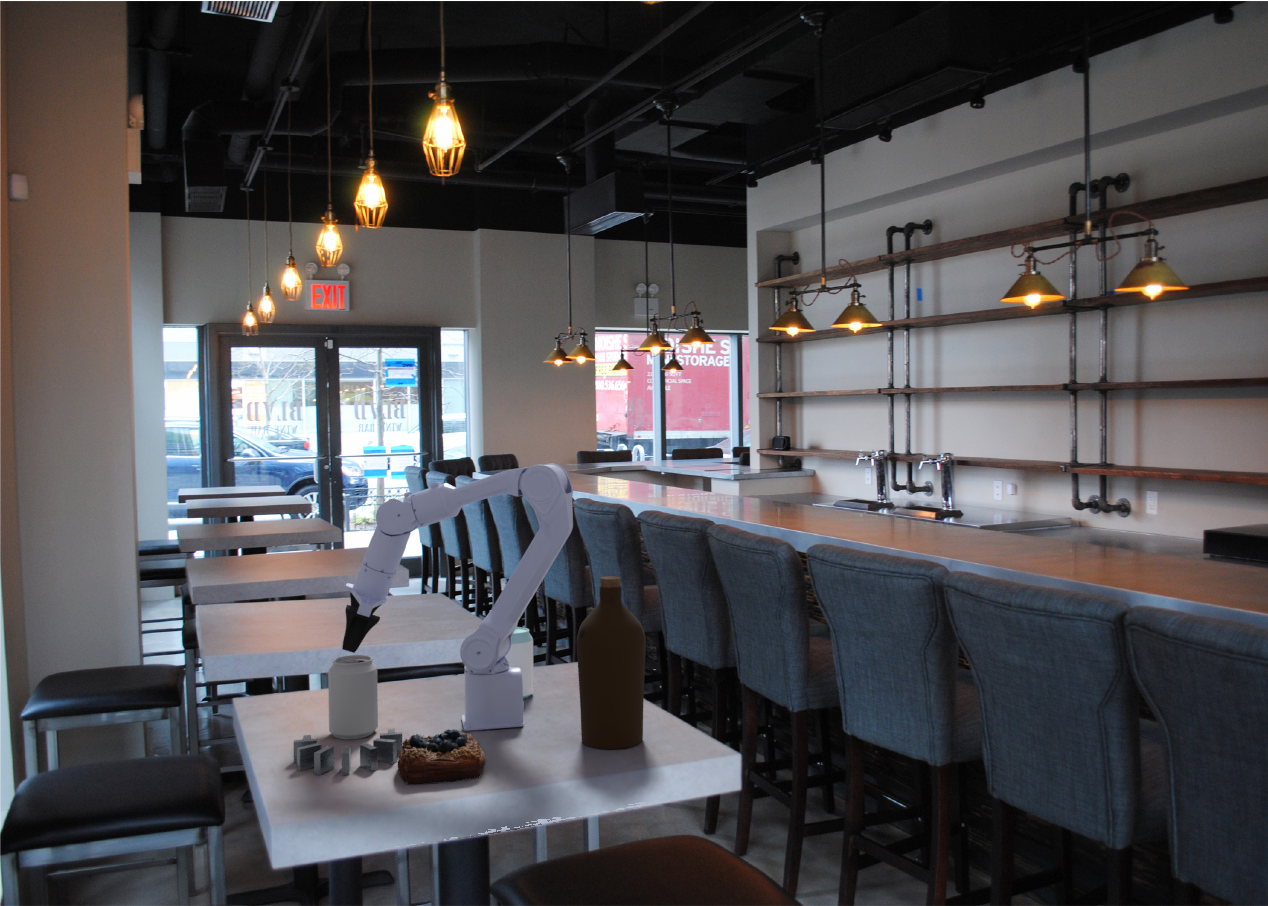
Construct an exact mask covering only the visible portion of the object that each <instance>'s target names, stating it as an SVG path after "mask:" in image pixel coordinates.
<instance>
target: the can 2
mask: <svg viewBox="0 0 1268 906" xmlns="http://www.w3.org/2000/svg"><path fill="white" fill-rule="evenodd" d="M505 658H506V659H507V661H508V663H509V667H519V668H521V672H522V683H523V700H524V699H528V698H529V697H530V696H531V695H533V693H534V691H535V690H534V639H533V636H532V634H531V633H530V629H529V628H527V627H521V626H517V628H516V629H515V631H514V633H513V635H512V642H511V648H510V651H509V652H508V654H507V655H506V656H505Z"/></svg>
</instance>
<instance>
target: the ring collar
mask: <svg viewBox="0 0 1268 906" xmlns="http://www.w3.org/2000/svg"><path fill="white" fill-rule="evenodd" d="M322 746H323V745H322V744H321V743H320V742H318V738H312V735H311V734H304V735H303V736H302V739H294V740H293V763H294V764H296V770H298V771H304V770H310V769H313V768H314V769H313V773H314V775H316V776H322V775H323V774H325V773H327V772H329V771H331V770H332V769H334V768H335V746H332V745H327V746H325V747H322ZM402 746H403V732H402V731H398V732H396V728H387V732H384V733H379V738H375V739H373V740H372V744H369V743H368V742H365V743H360V744H359V765H360V766H361V767H363V768H365V769H366V770H368V771H371V772H372V771H376V770H378V762H379V763H380V762H381V763H389V764H394V763H395V762H396V763H397V762H398V761H397V760H398V754H399V752H400V750H401V749H402ZM351 754H352V753H351V745H344V746H342V749H341V755H340V756H341V775H342V776H346V775H347V776H348V775H350V773H351V765H352V762H351V760H352V759H351V757H352V756H351Z"/></svg>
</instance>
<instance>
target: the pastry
mask: <svg viewBox="0 0 1268 906" xmlns="http://www.w3.org/2000/svg"><path fill="white" fill-rule="evenodd" d="M397 758H398V759H397V760H398V761H397V770H398V772H399V776H400V778H401V779H402V781H403V782H404V783H405V784H406V785H407V786H415V785H416V786H417V785H429V784H432V785H433V784H440V783H449V782H450V783H453V782H454V783H455V782H458V781H466V780H473V779H479V778H481V775H482V773H483V772H484V768H485V765H486V753H485V752H484V750H483V749H482V747H481V746H480V743H479V741H477V740H476V739H475V738H474V736H473V735H472V733H465V732H460V731H459V730H458V729H455V728H454V729H446V730H444V732H441V733H440V734H435V735H433V736H431V735H428V736H425V735H424V734H423V735H421V734H418V733H416V734H412V735H411V736H410V737H409V739H408V738H405V740H404V741H403V740H402V749H401V750H400V752H399V754H398V755H397Z"/></svg>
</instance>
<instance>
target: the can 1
mask: <svg viewBox="0 0 1268 906" xmlns="http://www.w3.org/2000/svg"><path fill="white" fill-rule="evenodd" d="M373 661H374V657H372V656H370V655H365V654H360V655H359V654H355V655H354V654H353V655H352V654H351V655H345V656H344V655H343V656H340V657H336V658H334V659H333V660H332V662H331V663H332V665H331V666H330V668H328V672H327V673H328V674H327V675H328V677H327V678H328V679H327V683H328V686H327V687H328V731H329V733H331V734H332V735H333V736H334V737H335V738H336V739H340V740H341V739H342V740H357V739H362V738H366V737H369V736H371V735H372V734H373V733H374V732H375V731H376V729H378V728H379V715H378V714H379V699H378V666H377V665H376V664H375V663H374V662H373Z"/></svg>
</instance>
